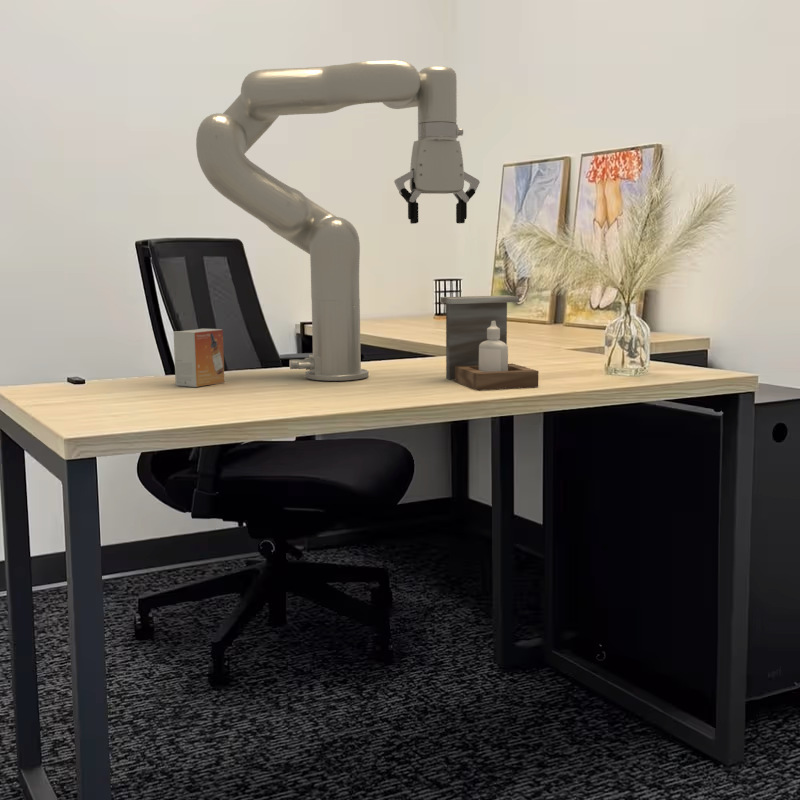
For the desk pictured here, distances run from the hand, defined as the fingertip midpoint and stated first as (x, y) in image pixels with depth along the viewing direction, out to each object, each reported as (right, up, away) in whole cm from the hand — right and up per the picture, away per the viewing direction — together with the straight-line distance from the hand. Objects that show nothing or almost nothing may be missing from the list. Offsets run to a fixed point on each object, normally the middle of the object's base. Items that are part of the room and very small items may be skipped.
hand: (437, 223), depth 191 cm
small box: (-46, -32, -5) cm, 56 cm away
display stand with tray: (+10, -32, -6) cm, 34 cm away
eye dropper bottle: (+10, -32, -9) cm, 35 cm away
